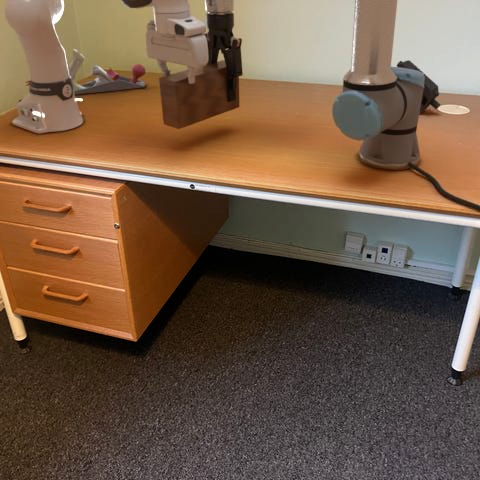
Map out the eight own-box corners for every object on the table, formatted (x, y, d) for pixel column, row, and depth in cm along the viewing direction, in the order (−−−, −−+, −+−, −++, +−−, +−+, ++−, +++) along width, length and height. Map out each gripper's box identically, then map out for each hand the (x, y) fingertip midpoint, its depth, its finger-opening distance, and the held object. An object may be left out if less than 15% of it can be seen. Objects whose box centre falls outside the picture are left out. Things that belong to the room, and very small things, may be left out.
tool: (378, 91, 179) (405, 54, 169) (421, 128, 175) (451, 93, 164) (370, 95, 176) (396, 58, 165) (413, 134, 171) (443, 98, 161)
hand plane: (62, 90, 197) (53, 48, 189) (145, 82, 205) (140, 41, 197) (62, 96, 191) (54, 53, 184) (148, 87, 199) (143, 45, 191)
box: (224, 103, 159) (222, 60, 152) (239, 107, 155) (238, 63, 149) (163, 124, 144) (158, 77, 137) (178, 129, 140) (174, 81, 134)
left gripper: (136, 21, 135) (143, 76, 142) (191, 29, 123) (196, 89, 131) (155, 17, 139) (161, 71, 146) (210, 25, 127) (214, 83, 134)
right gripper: (184, 10, 144) (190, 95, 156) (236, 17, 133) (238, 108, 145) (204, 7, 149) (208, 89, 161) (256, 13, 138) (256, 101, 150)
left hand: (178, 80), depth 138 cm, fingers open, 8 cm apart
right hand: (222, 98), depth 153 cm, fingers closed on box, 6 cm apart
